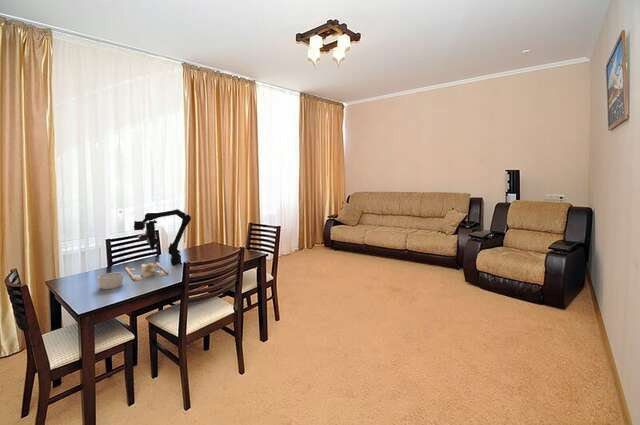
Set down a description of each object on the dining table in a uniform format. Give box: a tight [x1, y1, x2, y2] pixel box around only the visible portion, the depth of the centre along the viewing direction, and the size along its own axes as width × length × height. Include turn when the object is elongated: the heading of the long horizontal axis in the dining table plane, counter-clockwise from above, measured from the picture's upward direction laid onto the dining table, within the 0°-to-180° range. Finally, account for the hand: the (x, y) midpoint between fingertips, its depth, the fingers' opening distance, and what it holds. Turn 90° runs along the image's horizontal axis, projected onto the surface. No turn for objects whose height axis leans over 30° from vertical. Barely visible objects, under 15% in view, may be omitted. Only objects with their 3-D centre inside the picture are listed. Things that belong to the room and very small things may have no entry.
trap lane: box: [125, 261, 170, 282], centre depth 232 cm, size 21×32×2 cm, turn 38°
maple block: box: [140, 262, 157, 278], centre depth 226 cm, size 7×7×7 cm
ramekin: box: [97, 271, 124, 290], centre depth 203 cm, size 13×13×7 cm
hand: (152, 250), depth 245 cm, fingers closed
